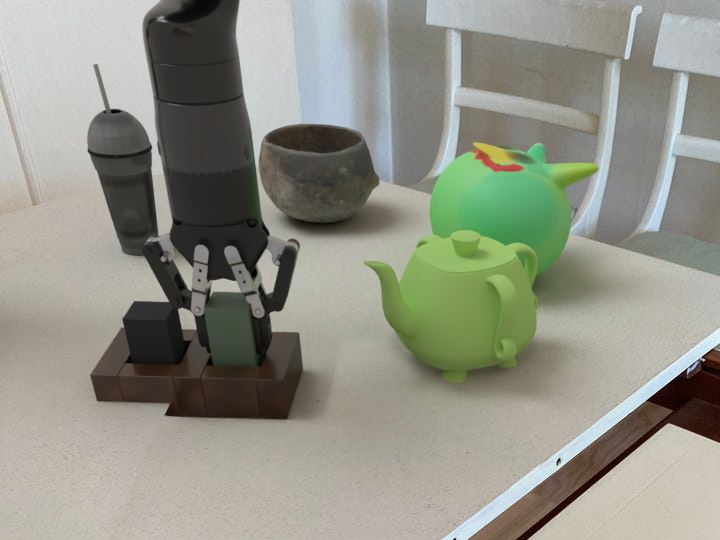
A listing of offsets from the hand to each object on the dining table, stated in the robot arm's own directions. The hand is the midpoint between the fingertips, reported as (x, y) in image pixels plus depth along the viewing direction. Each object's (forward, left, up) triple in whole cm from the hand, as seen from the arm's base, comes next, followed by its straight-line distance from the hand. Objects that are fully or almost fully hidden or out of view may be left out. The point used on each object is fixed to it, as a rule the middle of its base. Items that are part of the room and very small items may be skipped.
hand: (237, 349), depth 91 cm
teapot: (+20, +8, -5) cm, 22 cm away
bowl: (+1, +49, -5) cm, 49 cm away
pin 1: (-7, 0, -4) cm, 9 cm away
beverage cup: (-20, +36, -5) cm, 41 cm away
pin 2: (0, 0, -3) cm, 3 cm away
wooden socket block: (-4, 0, -4) cm, 6 cm away
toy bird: (+25, +31, -5) cm, 40 cm away
